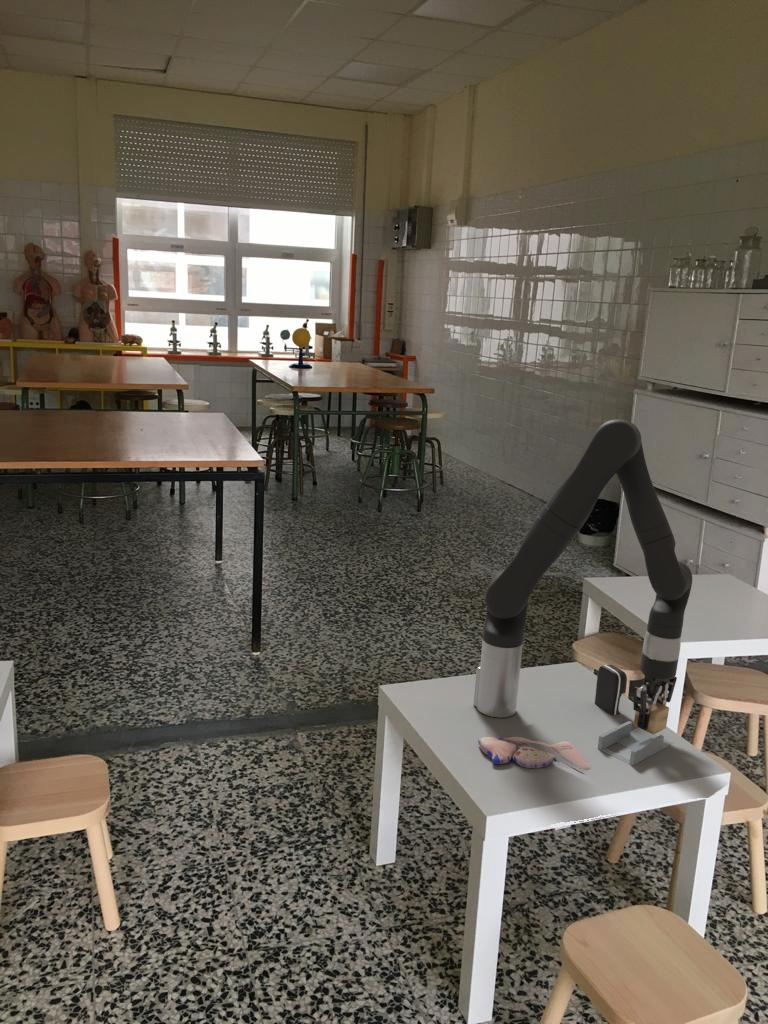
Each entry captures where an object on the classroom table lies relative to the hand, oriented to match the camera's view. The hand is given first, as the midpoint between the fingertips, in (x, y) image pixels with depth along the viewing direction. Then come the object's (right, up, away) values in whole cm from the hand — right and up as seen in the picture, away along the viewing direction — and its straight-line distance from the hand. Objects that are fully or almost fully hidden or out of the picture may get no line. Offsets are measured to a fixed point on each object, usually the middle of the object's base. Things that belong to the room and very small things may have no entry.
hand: (649, 724), depth 186 cm
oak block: (0, -1, 0) cm, 1 cm away
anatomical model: (-27, -6, -8) cm, 29 cm away
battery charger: (-5, -1, +15) cm, 16 cm away
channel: (-4, -5, -2) cm, 7 cm away
